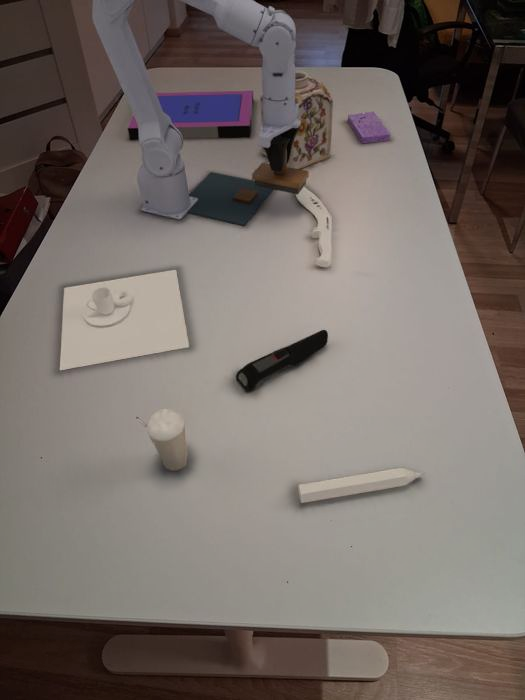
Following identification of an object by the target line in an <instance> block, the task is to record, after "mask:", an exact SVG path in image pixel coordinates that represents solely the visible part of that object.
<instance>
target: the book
mask: <svg viewBox="0 0 525 700" xmlns="http://www.w3.org/2000/svg"><path fill="white" fill-rule="evenodd" d="M156 95H157V97H158V100H159V102H160V105H161V108H162V110H163V112H164V113H165V114H167V115H168V116H169V117H170V119H171V121H172V123H173V125H174V126H175V127H176V128H177V129H178V130H179V131H180V133H181V135H182V137H183V140H195V139H196V140H198V139H203V140H204V139H205V140H206V139H242V138H243V139H245V138H249V139H251V132H252V123H253V114H254V113H253V112H254V104H255V103H254V101H255V100H254V90H227V91H226V90H224V91H222V90H221V91H218V90H217V91H183V92H182V91H181V92H179V91H178V92H156ZM127 133H128V137H129V140H130V141H139V132H138V124H137V122H136V119H135V117H134V115H133V114H132V117H131V120H130V121H129V124H128V126H127Z"/></svg>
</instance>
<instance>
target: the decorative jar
mask: <svg viewBox="0 0 525 700" xmlns="http://www.w3.org/2000/svg"><path fill="white" fill-rule="evenodd" d="M259 100H260V101H259V102H260V127H261V126H262V119H263V94H261V96H260V98H259ZM295 104H299V114H298V115H297V116H296V119H297V120H301V125H300V128H299V130H298V132H297V134H296V136H295V139H294V142H293V145H292V150H291V154H290V159H289V162H288V164H287V167H289V168H294V169H300V170H302V169H303V168H306V167H308V166H311V165H313V164H317V163H319V162H322V161H324V160H326V159H329V158H330V156H331V146H332V131H333V129H332V128H333V110H334V109H333V108H334V100H333V98H332V96H331V93H330V92H329V90H328V89H327V88H326V85H325V84H324V82H322V81H320V80H318V79H316V78H314V77H312V76H309V75H308V73H307V72H304V71H295ZM261 151H262V152H261V154H262V155H263V156H265V157H267V154H266V152H265V150H264V148H263V147H261Z"/></svg>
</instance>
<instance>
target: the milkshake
mask: <svg viewBox="0 0 525 700" xmlns="http://www.w3.org/2000/svg"><path fill="white" fill-rule="evenodd" d="M135 417H136V418H135V420H136V421H137V422H138V423H139V424H141V425H142V426H143V427H144V428H145V429H146V433H147V435H148V437H149V438H150V441H151V442H152V444H153V446H154V448H155V449H156V451H157V454H158V455H159V456H158V457H159V458H160V460H161V462H162V464H163V466H164V468H165V469H167V470H169V471H170V472H171V471H173V472H174V471H180V470H181V469H183V468H184V467H185V466H186V465H187V462H188V460H189V457H188V448H187V447H188V446H187V441H186V440H187V439H186V429H185V420H184V417H183V416H182V415H181V413H180V412H179V411H178V410H175V409H173V408H161V409H159V410H157V411H156V412H154V413H153V414H151V416H149V417H148V419H147V422H146V423H145V422H144V421H143V420H142V419H140V418H139V417H138V416H135Z"/></svg>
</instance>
